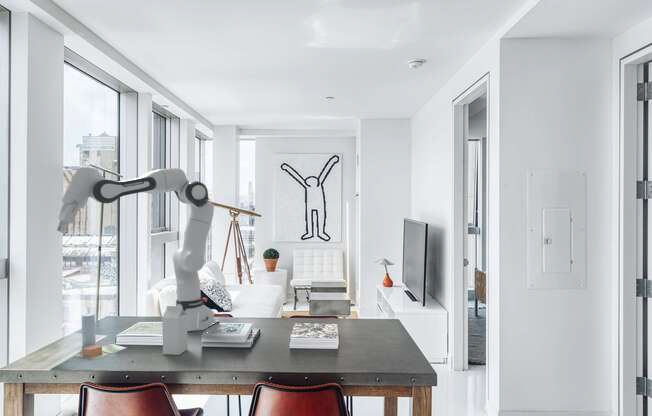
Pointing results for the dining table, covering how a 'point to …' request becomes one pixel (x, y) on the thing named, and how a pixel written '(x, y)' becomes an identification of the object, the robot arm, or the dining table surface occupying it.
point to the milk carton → (174, 330)
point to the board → (104, 351)
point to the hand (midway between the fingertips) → (60, 231)
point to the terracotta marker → (92, 350)
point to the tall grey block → (88, 330)
